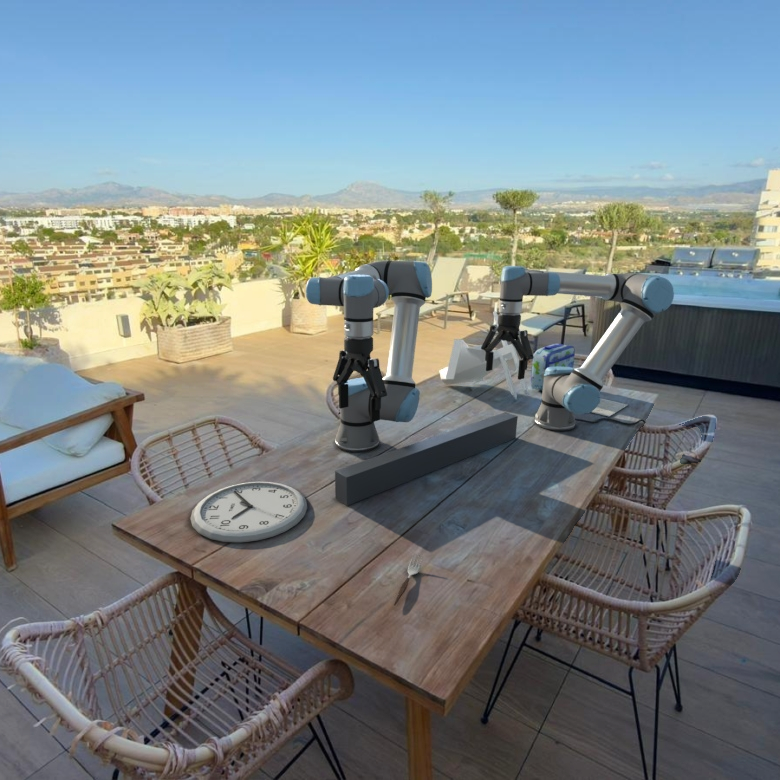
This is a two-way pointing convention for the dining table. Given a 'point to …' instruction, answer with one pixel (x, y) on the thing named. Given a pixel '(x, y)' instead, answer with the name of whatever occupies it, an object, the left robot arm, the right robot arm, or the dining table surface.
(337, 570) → the dining table surface
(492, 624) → the dining table surface
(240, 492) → the wall clock
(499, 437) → the bar
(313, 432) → the dining table surface
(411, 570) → the fork
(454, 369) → the white plastic object
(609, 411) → the invitation card
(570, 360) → the lunch box
